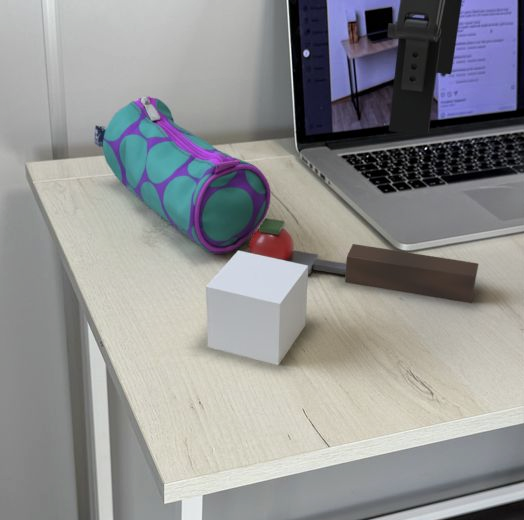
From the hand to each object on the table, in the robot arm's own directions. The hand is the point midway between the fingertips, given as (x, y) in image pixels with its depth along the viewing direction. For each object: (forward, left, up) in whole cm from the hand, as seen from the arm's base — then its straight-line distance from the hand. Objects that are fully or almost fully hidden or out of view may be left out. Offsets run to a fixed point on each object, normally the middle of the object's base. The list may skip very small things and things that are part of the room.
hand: (422, 99), depth 67 cm
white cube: (+10, +11, -17) cm, 23 cm away
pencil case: (+23, -8, -17) cm, 30 cm away
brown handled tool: (+4, 0, -17) cm, 18 cm away
